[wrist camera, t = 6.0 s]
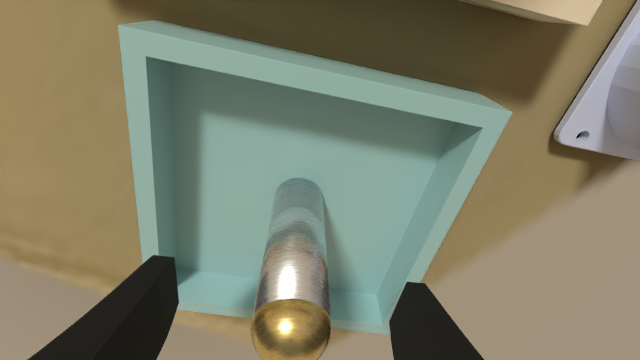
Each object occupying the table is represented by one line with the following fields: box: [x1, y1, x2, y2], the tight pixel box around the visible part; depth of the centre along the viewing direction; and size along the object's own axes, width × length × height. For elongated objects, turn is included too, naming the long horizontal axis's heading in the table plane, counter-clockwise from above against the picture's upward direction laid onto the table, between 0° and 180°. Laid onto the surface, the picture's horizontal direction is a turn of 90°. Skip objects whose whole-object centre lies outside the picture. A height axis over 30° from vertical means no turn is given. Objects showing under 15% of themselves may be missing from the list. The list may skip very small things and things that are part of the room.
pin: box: [251, 178, 331, 360], centre depth 11 cm, size 2×2×8 cm
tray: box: [118, 20, 512, 335], centre depth 14 cm, size 12×12×2 cm
